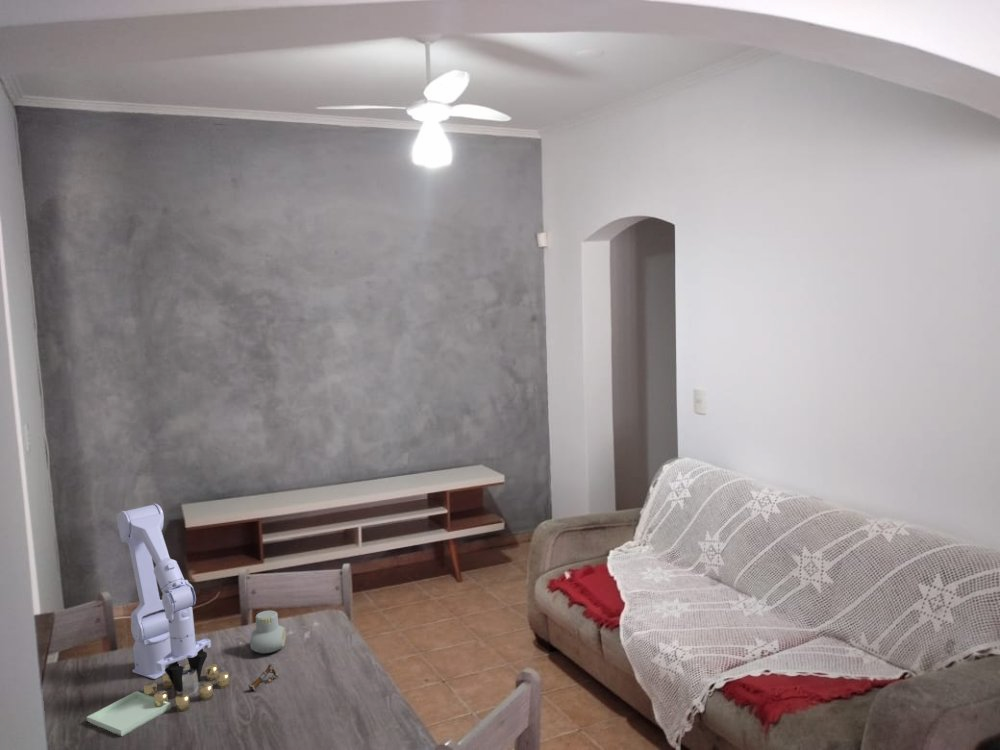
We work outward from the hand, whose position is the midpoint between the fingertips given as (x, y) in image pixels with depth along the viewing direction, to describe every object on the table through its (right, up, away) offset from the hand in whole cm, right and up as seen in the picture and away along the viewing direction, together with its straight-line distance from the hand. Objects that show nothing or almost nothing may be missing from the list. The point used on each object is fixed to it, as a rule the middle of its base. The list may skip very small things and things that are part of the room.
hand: (187, 685), depth 198 cm
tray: (-10, -3, -10) cm, 14 cm away
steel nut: (0, -1, 0) cm, 1 cm away
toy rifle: (+19, -1, +2) cm, 19 cm away
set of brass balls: (0, -1, 0) cm, 1 cm away
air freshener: (+14, +1, +22) cm, 26 cm away
